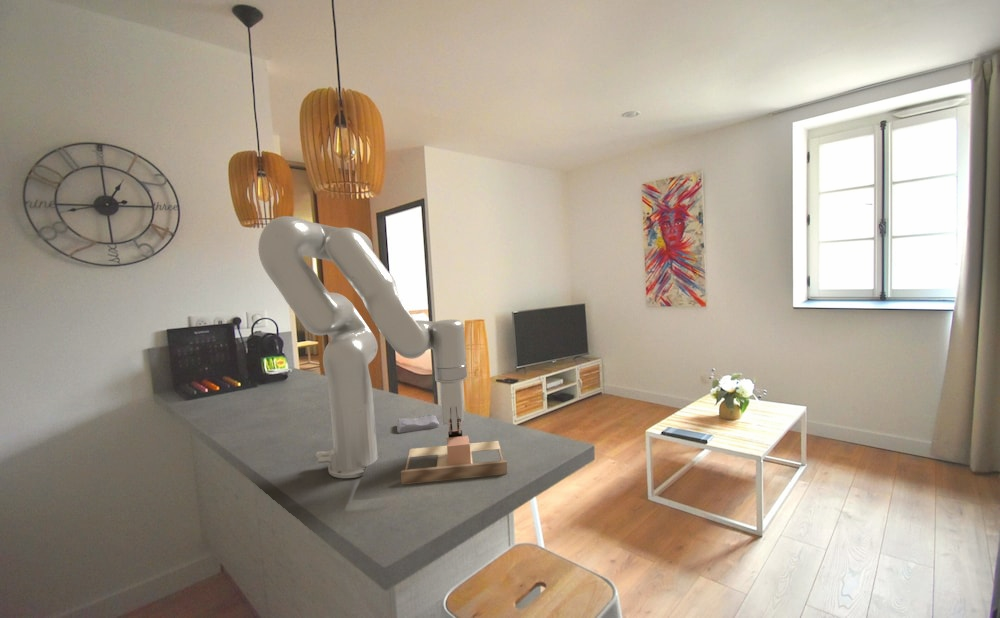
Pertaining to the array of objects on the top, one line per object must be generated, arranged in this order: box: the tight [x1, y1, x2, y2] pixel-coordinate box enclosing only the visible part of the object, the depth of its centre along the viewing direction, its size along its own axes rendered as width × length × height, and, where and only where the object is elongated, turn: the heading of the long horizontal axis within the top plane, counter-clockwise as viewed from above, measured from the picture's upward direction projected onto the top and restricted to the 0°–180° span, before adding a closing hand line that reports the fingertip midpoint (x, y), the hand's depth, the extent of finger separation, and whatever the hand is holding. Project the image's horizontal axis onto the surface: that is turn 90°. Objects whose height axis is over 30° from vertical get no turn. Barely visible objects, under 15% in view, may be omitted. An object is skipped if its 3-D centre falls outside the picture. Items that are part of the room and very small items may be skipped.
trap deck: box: [400, 440, 508, 485], centre depth 99 cm, size 22×18×4 cm
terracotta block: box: [446, 435, 471, 466], centre depth 98 cm, size 5×5×5 cm
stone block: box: [396, 414, 441, 434], centre depth 124 cm, size 12×5×10 cm
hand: (456, 448), depth 103 cm, fingers closed
